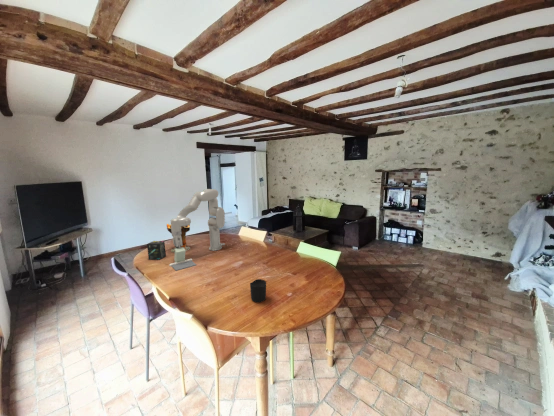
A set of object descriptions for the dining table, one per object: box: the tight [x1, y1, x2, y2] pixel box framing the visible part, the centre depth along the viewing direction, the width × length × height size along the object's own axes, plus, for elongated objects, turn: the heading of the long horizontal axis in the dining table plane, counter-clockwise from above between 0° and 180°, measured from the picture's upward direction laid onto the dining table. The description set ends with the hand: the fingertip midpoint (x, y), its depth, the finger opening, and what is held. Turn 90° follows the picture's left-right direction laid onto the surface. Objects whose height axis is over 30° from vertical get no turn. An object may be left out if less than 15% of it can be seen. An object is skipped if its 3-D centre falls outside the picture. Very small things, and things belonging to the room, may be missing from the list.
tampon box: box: [146, 240, 167, 261], centre depth 201 cm, size 11×9×15 cm
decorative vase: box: [166, 223, 191, 253], centre depth 222 cm, size 21×23×28 cm
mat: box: [171, 260, 197, 272], centre depth 184 cm, size 16×12×1 cm
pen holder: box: [249, 278, 267, 303], centre depth 133 cm, size 9×9×10 cm
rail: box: [169, 258, 193, 268], centre depth 189 cm, size 18×2×2 cm, turn 130°
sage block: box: [173, 247, 187, 263], centre depth 189 cm, size 7×5×12 cm
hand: (178, 253), depth 192 cm, fingers closed
